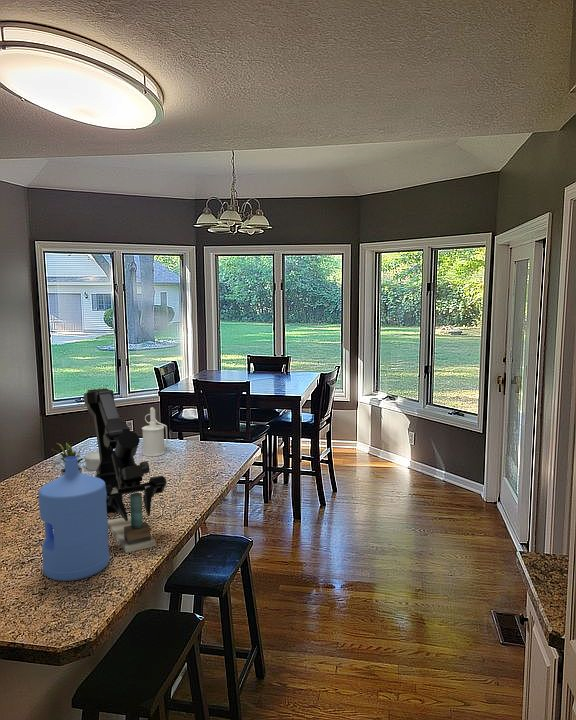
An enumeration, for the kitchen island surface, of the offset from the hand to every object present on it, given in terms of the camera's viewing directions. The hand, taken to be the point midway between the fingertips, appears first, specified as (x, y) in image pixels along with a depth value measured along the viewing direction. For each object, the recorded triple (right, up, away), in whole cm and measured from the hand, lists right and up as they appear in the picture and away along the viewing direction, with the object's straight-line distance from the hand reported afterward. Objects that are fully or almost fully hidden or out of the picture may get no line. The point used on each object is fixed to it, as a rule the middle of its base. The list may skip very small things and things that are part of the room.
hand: (138, 518), depth 149 cm
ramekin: (-34, 0, +70) cm, 78 cm away
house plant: (-38, -3, +49) cm, 62 cm away
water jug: (-13, -10, -10) cm, 19 cm away
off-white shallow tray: (-4, -7, +8) cm, 12 cm away
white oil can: (-16, +2, +89) cm, 90 cm away
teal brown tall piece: (-1, -6, +2) cm, 7 cm away
